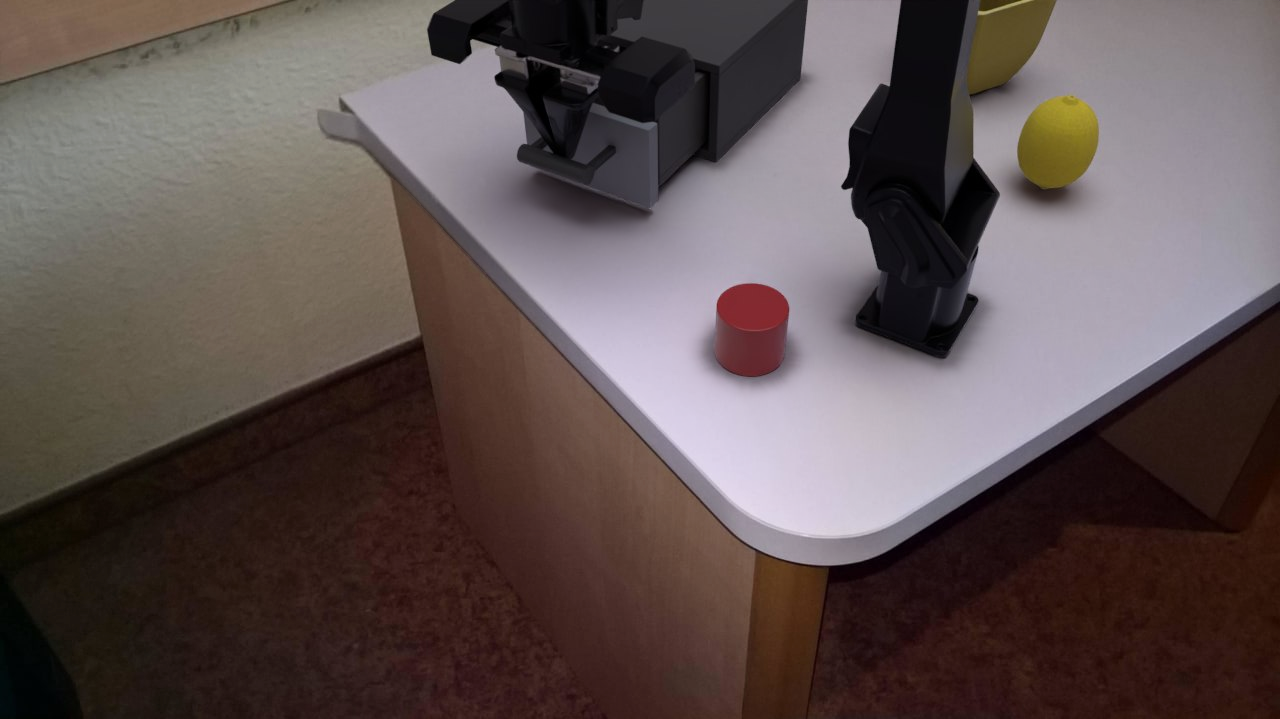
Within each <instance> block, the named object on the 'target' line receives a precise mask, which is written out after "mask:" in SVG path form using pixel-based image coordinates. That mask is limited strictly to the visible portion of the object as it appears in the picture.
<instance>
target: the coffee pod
mask: <svg viewBox="0 0 1280 719" xmlns="http://www.w3.org/2000/svg"><path fill="white" fill-rule="evenodd" d="M715 306H716V307H715V328H714V329H715V330H714V331H715V332H714V355H715V358H716V360H717V362H718V363H719V364H720V365H721V366H722V367H723V368H725V370H727V371H729V372H731V373H733V374H736V375H739V376H744V377H759V376H764V375H766V374H770V373H771V372H773V371H775V370H776V369H777V368H779V367H780V365H781V364H782V363H783V361H784V359H785V356H786V346H787V337H788V327H789V319H790V304H789V302H788V300H787V298H786V297H785V295H784V294H783V293H782V292H780V291H779V290H777V289H776V288H775V287H771V286H769V285H767V284H762V283H754V282H749V283H748V282H747V283H740V284H737V285H733V286H731V287H728V288H727V289H726V290H724V291H723V292H722V293H721V294H720V296H719V297H718V299H717V301H716V305H715Z"/></svg>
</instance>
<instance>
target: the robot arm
mask: <svg viewBox="0 0 1280 719" xmlns="http://www.w3.org/2000/svg"><path fill="white" fill-rule="evenodd" d="M643 1H644V0H453V1H451V2H450V3H448V4H446V5H445V6H443V7H441V8H439V9H438V10H437V11H434V12H433V13H432V15H431V17H430V20H429V22H428V25H427V28H426V32H427V38H428V44H429V49H430V54H431V56H432V57H436V58H439V59H442V60H444V61H447V62H448V61H449V62H451V63H454V64H458V65H461V64H462V63H464V62H465V61H466V60H467V59H468V58H469V57H470V56H471V55H472V54H473V50H472V42H471V41H472V40H473V41H477V42H480V43H483V44H487V45H490V46H494V47H496V48H494V54H495V56H497V57H498V58H499V59H498V60H499V67H500V71H499V72H498V73H496V74H495V75H494V77H493V79H494V82H495V85H496V86H498V87H500V88H503V89H504V90H505V92H506V93H507V94H508V95H509V96H510V97H511V99H512V100H513V101H514V102H515V103H516V105H517V106H518V107H519V108H520V110H521V111H522V112H524V113H525V115H526V116H527V117H528V118H529V120H530V121H531V122H532V124H533V125H534V127H535V128H536V129H537V131H538V132H539V134H540V135H541V137H542V138H543V139H544V141H545V142H546V144H547V145H548V147H549V148H550V149H551V151H552V152H553V153H554V154H557V155H560V156H563V157H565V158H568V159H572V158H573V157H574V156H575V153H576V150H577V147H578V144H579V141H580V138H581V135H582V132H583V129H584V126H585V123H586V120H587V117H588V114H589V111H590V109H591V106H592V104H593V102H594V100H595V99H596V98H597V97H598V96H599V100H600V101H601V102H602V104H603V105H604V106H605V108H606V109H607V110H608V112H609V113H612V114H615V115H619V116H622V117H625V118H628V119H631V120H634V121H637V122H640V123H648V122H655V121H656V120H657V119H658V118H659V117H660V116H662V115H663V114H664V113H665V112H666V111H667V110H668V109H670V108H671V107H672V106H673V105H674V104H675V103H676V102H678V101H679V100H680V99H681V98H682V97H683V96H684V95H686V94H687V93H688V92H689V91H690V90H691V89H692V88H693V87H695V63H694V60H693V57H692V55H691V54H690V53H689V52H688V51H687V50H686V49H685V48H681V47H677V46H674V45H670V44H667V43H663V42H660V41H656V40H653V39H649V38H646V37H640V38H639V39H638V40H636V41H635V42H634V43H633V44H631V45H630V46H629V47H627V48H626V49H625V50H624V51H622V52H621V53H619V45H616V44H613V43H609V42H606V41H602V40H599V39H598V38H599V37H600V36H601V35H605V36H609V35H611V34H612V33H613V32H615V31H616V30H617V29H618V23H617V19H624V18H633V19H634V20H639V19H641V14H642V8H643ZM979 5H980V0H900V5H899V10H898V18H897V19H898V20H897V27H896V35H895V41H894V42H895V43H894V48H893V57H892V64H891V73H890V80H889V85H887V84H885V83H879V84H878V86H877V88H876V89H875V91H874V92H873V93H872V95H871V96H870V98H869V99H868V101H867V102H866V104H865V105H864V107H863V108H862V110H861V112H860V113H859V114H858V115H857V117H856V119H855V120H854V122H853V123H852V125H851V126H850V127H849V130H848V140H847V141H848V142H847V144H848V145H847V146H848V147H847V148H848V158H849V167H848V171H847V175H846V177H845V179H844V180H843V182H842V184H841V186H840V188H841V189H842V190H843V191H847V190H850V189H851V193H850V203H851V210H852V212H853V215H854V217H855V219H857V220H859V221H861V222H862V223H863V225H864V226H865V227H866V229H867V232H868V236H869V239H870V244H871V248H872V251H873V256H874V261H875V264H876V268H877V270H878V271H880V272H879V278H878V283H877V286H875V288H874V289H873V291H872V293H871V294H870V296H869V297H868V298H867V300H866V301H865V302H864V304H863V305H862V307H861V308H860V309H859V311H858V312H857V314H855V315H856V316H855V320H854V324H855V325H856V326H858V327H860V328H862V329H865V330H867V331H870V332H873V333H876V334H878V335H881V336H884V337H886V338H889V339H892V340H894V341H896V342H900V343H902V344H904V345H908V346H909V347H913V348H915V349H918V350H921V351H923V352H926V353H928V354H932V355H934V356H937V357H940V358H945V357H947V356H948V355H949V354H950V353H951V351H952V349H953V347H954V346H955V344H956V343H957V341H958V339H959V338H960V336H961V334H962V332H963V331H964V329H965V328H966V325H967V324H968V322H969V321H970V319H971V317H972V315H973V314H974V312H975V311H976V309H977V307H978V304H979V297H978V296H976V295H974V294H972V293H969V292H968V291H969V288H970V284H971V280H972V276H973V273H974V268H975V265H976V263H977V262H976V261H977V257H978V254H979V249H980V248H979V247H980V246H979V244H980V242H981V239H982V237H983V235H984V233H985V231H986V228H987V226H988V224H989V221H990V219H991V217H992V215H993V213H994V211H995V208H996V205H997V204H998V201H999V199H1000V197H1001V192H1000V191H999V190H998V188H997V187H996V185H995V184H994V183H993V182H992V180H991V178H989V176H988V174H986V172H985V171H984V170H983V168H982V167H981V165H980V164H979V163H978V161H977V160H976V159H975V158H974V109H973V105H972V104H973V103H972V101H971V95H969V91H968V87H967V70H968V64H969V59H970V53H971V48H972V43H973V37H974V32H975V27H976V21H977V16H978V11H979ZM524 113H523V114H524Z"/></svg>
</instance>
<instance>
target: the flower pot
mask: <svg viewBox="0 0 1280 719" xmlns="http://www.w3.org/2000/svg"><path fill="white" fill-rule="evenodd" d="M1057 1H1058V0H980V5H979V11H978V16H977V21H976V27H975V32H974V37H973V43H972V48H971V53H970V59H969V64H968V70H967V87H968V91H969V96H971V95H974V94H977V93H980V92H983V91H986V90H989V89H992V88H995V87H998V86H1001V85H1004V84H1007V82H1009V81H1010V80H1011V79H1012V78H1013V77H1014V76H1015V75H1017V73H1018V72H1020V70H1021V69H1022V68H1024V66H1025V65H1026V64H1027V63H1028V61H1029V60H1030V59H1031V57H1032V56H1033V55H1034V53H1035V51H1036V50H1037V48H1038V46H1039V45H1040V42H1041V40H1042V38H1043V35H1044V33H1045V31H1046V28H1047V26H1048V24H1049V21H1050V18H1051V17H1052V13H1053V11H1054V8H1055V6H1056V4H1057Z"/></svg>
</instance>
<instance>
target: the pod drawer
mask: <svg viewBox="0 0 1280 719" xmlns="http://www.w3.org/2000/svg"><path fill="white" fill-rule="evenodd" d="M625 49H626V48H624V47H620V46H619V53H621V52H622V51H624V50H625ZM710 75H711V72H707V71H704V70H701V69H697V68H695V87H693V88H692V89H691V90H690V91H689V92H688V93H687V94H686V95H684V96H683V97H682V98H681V99H680V100H679V101H678V102H676V103H675V104H674V105H673V106H672V107H671V108H670V109H668V110H667V111H666V112H665V113H664V114H663V115H662V116H660V117H659V118H658V119H657V120H656V121H655V122H648V123H640V122H637V121H634V120H631V119H628V118H625V117H622V116H619V115H615V114H612V113H609V112H608V110H607V109H606V108H605V106H604V105H603V104H602V102H601V101H600V100H599V96H598V97H597V98H596V99H595V100H594V102H593V104H592V106H591V109H590V111H589V114H588V117H587V120H586V123H585V126H584V129H583V132H582V135H581V138H580V141H579V144H578V147H577V150H576V153H575V156H574V157H573V158H572V159H568V158H565V157H563V156H560V155H557V154H554V153H553V152H552V151H551V149H550V148H549V147H548V145H547V144H546V142H545V141H544V139H543V138H542V137H541V135H540V134H539V132H538V131H537V129H536V128H535V127H534V125H533V124H532V122H531V121H530V120H529V118H528V117H527V116H526V115H525V113H524V112H523V111H522V112H523V120H524V130H525V138H526V143H522V144H520V145H519V147H518V149H517V152H516V159H517V161H518V162H519V163H521V164H524V165H528V166H530V167H532V168H534V169H537V170H541V171H543V172H546V173H549V174H552V175H555V176H557V177H561V178H563V179H566V180H568V181H572V182H574V183H577V184H580V185H582V186H586V187H589V188H592V189H594V190H597V191H600V192H603V193H605V194H608V195H611V196H614V197H616V198H619V199H622V200H625V201H627V202H630V203H633V204H636V205H637V206H638V205H639V206H642V207H643V208H647V209H652V208H653V207H654V206H655V205H656V204H657V203H658V202H659V187H660V186H662V185H663V184H664V183H665V182H666V181H667V180H668V179H669V178H670V177H671V176H672V175H673V174H674V173H675V172H676V171H677V170H679V168H680V167H682V166H683V164H685V162H687V161H688V160H689V159H690V158H691V157H693V156H694V155H693V154H694V153H695V152H696V151H697V150H698V149H699V148H700V147H701V146H702V145H703V144H704V143H705V142H706V141H707V140H708V139H709V109H710Z"/></svg>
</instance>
